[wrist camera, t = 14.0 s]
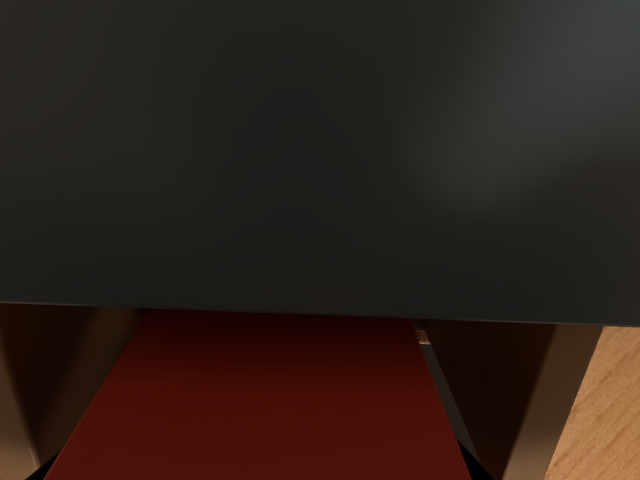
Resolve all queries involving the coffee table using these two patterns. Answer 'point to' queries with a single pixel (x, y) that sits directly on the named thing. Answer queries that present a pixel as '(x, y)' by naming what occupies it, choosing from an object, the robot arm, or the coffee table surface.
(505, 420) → the drawer
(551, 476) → the coffee table surface
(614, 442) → the coffee table surface
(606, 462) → the coffee table surface
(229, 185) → the cabinet
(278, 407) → the block
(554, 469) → the coffee table surface
